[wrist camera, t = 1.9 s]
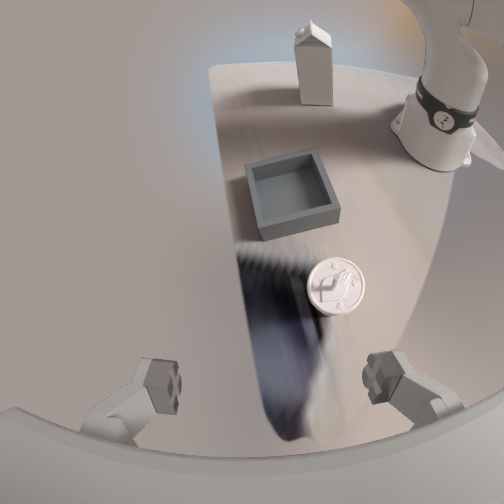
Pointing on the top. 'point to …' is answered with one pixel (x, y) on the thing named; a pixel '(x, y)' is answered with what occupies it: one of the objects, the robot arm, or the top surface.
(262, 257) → the top surface
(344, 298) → the smoothie
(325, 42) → the milk carton
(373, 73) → the top surface
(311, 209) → the bin
